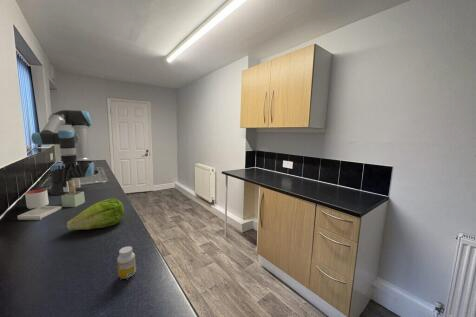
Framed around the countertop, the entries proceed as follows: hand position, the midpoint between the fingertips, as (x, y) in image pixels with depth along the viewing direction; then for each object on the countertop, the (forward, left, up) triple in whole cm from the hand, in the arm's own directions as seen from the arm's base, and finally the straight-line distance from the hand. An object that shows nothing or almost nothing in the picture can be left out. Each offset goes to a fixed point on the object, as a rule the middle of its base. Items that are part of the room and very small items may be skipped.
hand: (72, 189), depth 130 cm
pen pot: (0, 0, -11) cm, 11 cm away
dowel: (0, 0, -10) cm, 10 cm away
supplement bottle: (+63, +67, -11) cm, 93 cm away
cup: (+2, -21, -11) cm, 24 cm away
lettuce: (+28, +34, -11) cm, 45 cm away
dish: (+14, -8, -11) cm, 19 cm away
